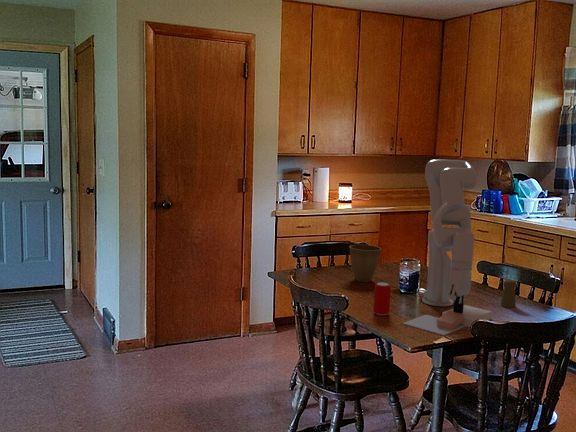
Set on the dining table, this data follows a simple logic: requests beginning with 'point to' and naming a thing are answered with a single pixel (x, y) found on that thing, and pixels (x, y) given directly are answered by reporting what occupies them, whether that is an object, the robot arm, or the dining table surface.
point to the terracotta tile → (450, 320)
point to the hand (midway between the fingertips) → (458, 312)
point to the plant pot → (364, 261)
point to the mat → (431, 325)
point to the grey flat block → (472, 314)
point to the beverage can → (382, 299)
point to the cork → (508, 294)
